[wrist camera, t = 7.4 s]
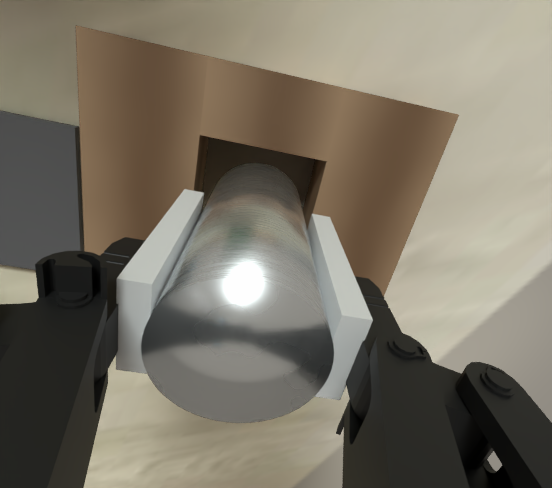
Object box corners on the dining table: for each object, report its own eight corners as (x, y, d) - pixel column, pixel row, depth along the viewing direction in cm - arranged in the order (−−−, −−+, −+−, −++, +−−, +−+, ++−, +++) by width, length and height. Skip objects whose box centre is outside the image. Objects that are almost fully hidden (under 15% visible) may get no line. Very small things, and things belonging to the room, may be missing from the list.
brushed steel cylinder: (206, 240, 18) (139, 412, 9) (215, 154, 16) (142, 262, 7) (290, 253, 18) (309, 431, 9) (309, 172, 16) (358, 295, 7)
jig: (109, 257, 21) (85, 284, 18) (108, 33, 16) (75, 25, 13) (358, 298, 23) (369, 328, 20) (430, 108, 18) (459, 114, 15)
